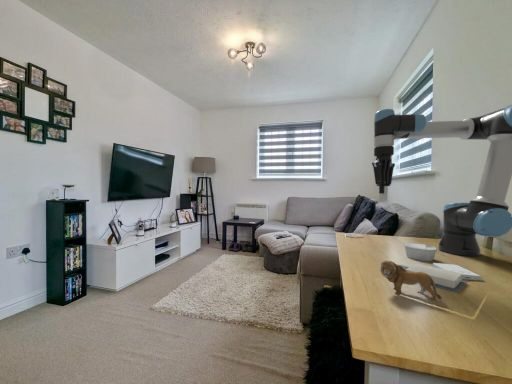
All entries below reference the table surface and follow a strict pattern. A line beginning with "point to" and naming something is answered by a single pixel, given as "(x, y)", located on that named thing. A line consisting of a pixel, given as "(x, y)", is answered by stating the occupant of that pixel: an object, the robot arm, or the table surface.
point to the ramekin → (420, 251)
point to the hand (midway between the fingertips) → (383, 201)
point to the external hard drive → (458, 271)
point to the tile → (439, 275)
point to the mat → (445, 287)
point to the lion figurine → (407, 278)
